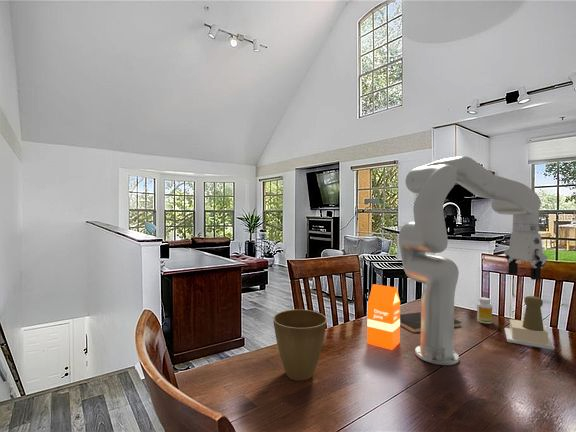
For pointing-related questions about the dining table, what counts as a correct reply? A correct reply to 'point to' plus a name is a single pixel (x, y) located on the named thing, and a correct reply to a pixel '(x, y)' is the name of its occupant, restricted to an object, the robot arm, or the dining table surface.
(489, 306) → the supplement bottle
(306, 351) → the plant pot
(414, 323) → the hardcover book
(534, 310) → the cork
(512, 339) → the plinth stand
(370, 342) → the orange juice
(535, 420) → the dining table surface
